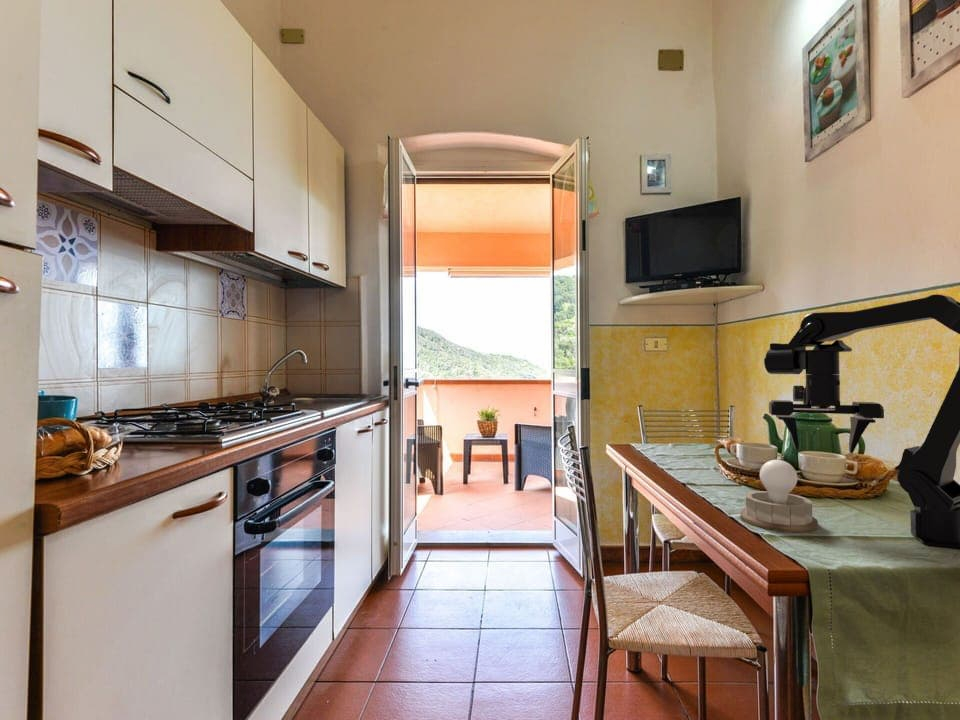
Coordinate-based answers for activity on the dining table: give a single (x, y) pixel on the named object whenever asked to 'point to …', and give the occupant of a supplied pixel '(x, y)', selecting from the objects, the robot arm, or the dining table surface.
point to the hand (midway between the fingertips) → (823, 451)
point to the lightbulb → (778, 480)
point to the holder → (779, 513)
